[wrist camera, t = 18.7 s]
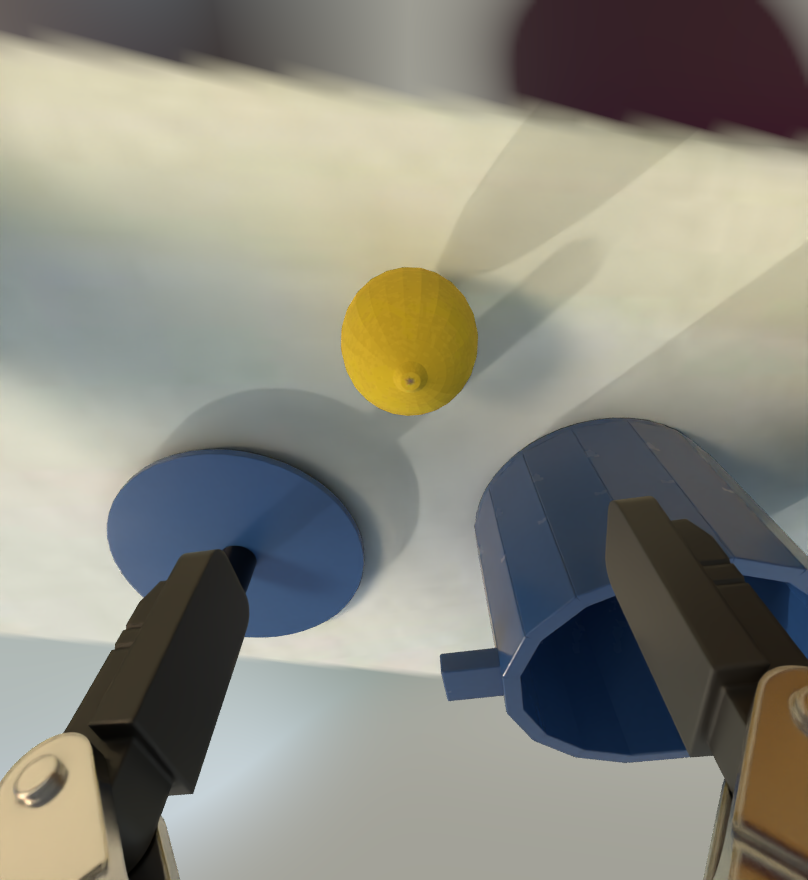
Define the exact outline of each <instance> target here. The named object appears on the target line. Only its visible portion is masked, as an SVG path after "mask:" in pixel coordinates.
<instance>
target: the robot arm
mask: <svg viewBox="0 0 808 880" xmlns="http://www.w3.org/2000/svg"><path fill="white" fill-rule="evenodd" d="M605 562H606V569H607V574H608V578H609V581H610V584H611V586H612V589H613V591H614V593H615V595H616V598H617V600H618V602H619V604H620V606H621V608H622V611H623V613H624V615H625V617H626V619H627V621H628V624H629V626H630V628H631V630H632V632H633V634H634V637H635V639H636V641H637V643H638V645H639V648H640V650H641V652H642V654H643V656H644V658H645V661H646V663H647V665H648V667H649V669H650V671H651V674H652V676H653V678H654V680H655V682H656V684H657V687H658V689H659V691H660V693H661V695H662V697H663V700H664V702H665V704H666V706H667V708H668V711H669V713H670V715H671V717H672V719H673V721H674V724H675V726H676V728H677V730H678V732H679V734H680V737H681V739H682V741H683V743H684V745H685V747H686V750H687V752H688V754H689V756H690V757H700V756H714V758H715V760H716V762H717V764H718V766H719V768H720V770H721V772H722V774H723V776H724V778H725V779H724V782H723V785H722V790H721V795H720V800H719V804H718V810H717V814H716V819H715V824H714V829H713V834H712V839H711V844H710V849H709V853H708V858H707V863H706V868H705V873H704V878H703V880H808V659H807V658H806V657H805V655H804V654H803V653H802V651H801V650H800V649H799V648H798V646H797V645H796V644H795V642H794V641H793V640H792V639H791V637H790V636H789V635H788V633H787V632H786V631H785V630H784V628H783V627H782V626H781V624H780V623H779V622H778V620H777V619H776V618H775V617H774V615H773V614H772V613H771V611H770V610H769V609H768V608H767V606H766V605H765V604H764V602H763V601H762V600H761V599H760V597H759V596H758V595H757V593H756V592H755V591H754V589H753V588H752V587H751V586H750V584H749V583H746V582H745V580H744V577H743V575H742V574H741V573H740V571H739V570H738V569H737V567H736V566H735V565H734V564H733V563H732V564H731V562H730V558H729V557H728V556H727V555H726V553H725V552H724V551H723V549H722V548H721V547H720V546H719V544H718V543H717V542H716V540H715V539H714V538H713V536H711V535H710V534H708V533H707V532H705V531H704V530H702V529H701V528H699V527H698V526H696V525H695V524H693V523H692V522H690V521H689V520H687V519H680V520H672V521H671V520H670V519H669V517H668V516H667V514H666V513H665V512H664V510H663V509H662V507H661V506H660V504H659V503H658V502H657V500H656V499H655V498H654V497H652V496H644V497H636V498H628V499H620V500H612V501H611V502H610V503H609V506H608V519H607V535H606V551H605ZM248 623H249V603H248V599H247V596H246V594H245V592H244V590H243V588H242V586H241V584H240V582H239V580H238V577H237V575H236V573H235V571H234V569H233V567H232V565H231V563H230V561H229V559H228V557H227V555H226V554H225V552H224V551H222V550H221V549H215V550H207V551H199V552H191V553H185V554H183V555H181V556H180V558H179V559H178V561H177V562H176V564H175V566H174V568H173V570H172V572H171V573H170V575H169V577H168V579H167V580H166V581H160V582H159V583H158V584H157V585H156V586H155V587H154V588H153V589H152V590H151V591H150V592H149V593H148V594H147V595H146V596H145V597H144V598H143V599H142V600H141V601H140V602H139V604H138V606H137V607H136V609H135V611H134V612H133V614H132V616H131V618H130V619H129V621H128V623H127V625H126V630H123V631H122V633H121V635H120V637H119V638H118V640H117V642H116V644H115V649H114V650H112V651H111V652H110V654H109V656H108V657H107V659H106V661H105V663H104V664H103V666H102V668H101V669H100V671H99V673H98V675H97V676H96V678H95V680H94V682H93V683H92V685H91V687H90V688H89V690H88V692H87V694H86V696H85V697H84V699H83V701H82V703H81V704H80V706H79V708H78V710H77V711H76V713H75V714H74V716H73V718H72V720H71V721H70V723H69V725H68V726H67V728H66V730H65V731H64V733H62V734H59V735H56V736H53V737H51V738H49V739H47V740H45V741H43V742H41V743H40V744H38V745H37V746H35V747H34V748H32V749H31V750H30V751H28V752H27V753H26V754H25V755H24V756H22V757H21V758H20V759H19V760H18V761H17V762H16V763H15V764H14V766H12V768H11V769H10V770H9V771H8V772H7V774H6V775H5V776H4V778H3V779H2V780H1V782H0V880H180V878H179V873H178V869H177V866H176V862H175V858H174V854H173V850H172V846H171V843H170V838H169V835H168V831H167V827H166V824H165V821H164V819H163V818H162V816H161V814H162V811H163V808H164V806H165V803H166V800H167V797H168V796H170V795H182V794H183V795H184V794H193V792H194V789H195V786H196V783H197V780H198V777H199V774H200V771H201V768H202V764H203V762H204V759H205V756H206V753H207V750H208V747H209V743H210V740H211V737H212V734H213V731H214V728H215V725H216V722H217V719H218V716H219V713H220V710H221V707H222V703H223V701H224V698H225V695H226V691H227V688H228V685H229V682H230V679H231V676H232V673H233V670H234V667H235V664H236V661H237V658H238V655H239V652H240V649H241V646H242V643H243V639H244V636H245V633H246V630H247V627H248Z"/></svg>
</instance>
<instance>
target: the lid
mask: <svg viewBox="0 0 808 880" xmlns="http://www.w3.org/2000/svg"><path fill="white" fill-rule="evenodd" d="M107 539H108V543H109V548H110V551H111V554H112V556H113V559H114V561H115V563H116V565H117V567H118V568H119V570H120V572H121V573H122V575H123V576H124V577H125V578H126V580H127V581H128V582H129V584H130V585H131V586H132V587H133V588H134V589H135V590H136V591H137V592H138V593H139V594H140V595H141V596H143V597H145V596H146V595H147V594H148V593H149V592H150V591H151V590H152V589H153V588H154V587H155V586H156V585H157V584H158V583H159V582H160V581H166V580H167V579H168V577H169V575H170V573H171V572H172V570H173V568H174V566H175V564H176V562H177V561H178V559H179V558H180V556H181V555H183V554H185V553H191V552H199V551H207V550H215V549H221V550H222V551H224V552H225V554H226V555H227V557H228V559H229V561H230V563H231V565H232V567H233V569H234V571H235V573H236V575H237V577H238V580H239V582H240V584H241V586H242V588H243V590H244V592H245V594H246V596H247V599H248V603H249V623H248V627H247V630H246V633H245V636H244V637H277V636H283V635H289V634H294V633H297V632H301V631H305V630H307V629H310V628H313V627H315V626H317V625H319V624H321V623H323V622H325V621H327V620H329V619H330V618H331V617H333V616H334V615H336V614H337V613H338V612H339V611H341V610H342V609H343V608H344V607H345V606H346V605H347V604H348V602H349V601H350V600H351V599H352V597H353V596H354V594H355V592H356V590H357V589H358V587H359V584H360V581H361V578H362V574H363V568H364V547H363V542H362V537H361V535H360V532H359V530H358V527H357V525H356V523H355V521H354V519H353V518H352V516H351V514H350V513H349V511H348V510H347V509H346V507H345V506H344V505H343V504H342V502H341V501H340V500H339V499H338V498H337V497H336V496H335V495H334V494H333V493H332V492H331V491H330V490H329V489H327V488H326V487H325V486H323V485H322V484H321V483H320V482H318V481H317V480H316V479H314V478H312V477H311V476H309V475H307V474H306V473H304V472H302V471H301V470H299V469H297V468H294V467H292V466H290V465H288V464H286V463H284V462H281V461H278V460H275V459H272V458H269V457H266V456H262V455H258V454H254V453H249V452H244V451H236V450H226V449H206V450H195V451H188V452H184V453H179V454H174V455H172V456H169V457H166V458H163V459H160V460H158V461H156V462H154V463H152V464H150V465H148V466H146V467H145V468H143V469H142V470H141V471H139V472H138V473H137V474H135V475H134V476H133V477H132V478H131V479H130V480H129V481H128V482H127V483H126V484H125V485H124V486H123V488H122V489H121V490H120V492H119V493H118V495H117V496H116V498H115V500H114V501H113V504H112V506H111V509H110V512H109V516H108V522H107Z"/></svg>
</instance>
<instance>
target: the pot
mask: <svg viewBox="0 0 808 880" xmlns="http://www.w3.org/2000/svg"><path fill="white" fill-rule="evenodd" d="M644 496H652V497H654V498H655V499H656V500H657V502H658V503H659V504H660V506H661V507H662V509H663V510H664V512H665V513H666V514H667V516H668V517H669V519H670V520H671V521H672V520H680V519H687V520H689V521H690V522H692V523H693V524H695V525H696V526H698V527H699V528H701V529H702V530H704V531H705V532H707V533H708V534H710V535H711V536H713V538H714V539H715V540H716V542H717V543H718V544H719V546H720V547H721V548H722V549H723V551H724V552H725V553H726V555H727V556H728V557H729V558H730V562H731V564H732V563H733V564H734V565H735V566H736V567H737V569H738V570H739V571H740V573H741V574H742V575H743V577H744V580H745V582H746V583H749V584H750V586H751V587H752V588H753V589H754V591H755V592H756V593H757V595H758V596H759V597H760V599H761V600H762V601H763V602H764V604H765V605H766V606H767V608H768V609H769V610H770V611H771V613H772V614H773V615H774V617H775V618H776V619H777V620H778V622H779V623H780V624H781V626H782V627H783V628H784V630H785V631H786V632H787V633H788V635H789V636H790V637H791V639H792V640H793V641H794V642H795V644H796V645H797V646H798V648H799V649H800V650H801V651H802V653H803V654H804V655H805V657H806V658H807V659H808V556H807V555H806V554H805V553H804V552H803V551H802V550H801V549H800V548H799V547H798V546H797V545H796V544H795V543H794V542H793V541H792V539H791V538H790V537H789V536H788V535H787V534H786V533H785V532H784V531H783V530H782V529H781V528H780V527H779V526H778V525H777V524H776V523H775V522H774V521H773V520H772V519H771V518H770V517H769V516H768V515H767V513H766V512H765V511H764V510H763V509H762V508H761V507H760V506H759V505H758V504H757V503H756V502H755V501H754V500H753V499H752V498H751V497H750V496H749V495H748V494H747V493H746V492H745V491H744V490H743V489H742V487H741V486H740V485H739V484H738V483H737V482H736V481H735V480H734V479H733V478H732V477H731V476H730V475H729V474H728V473H727V472H726V471H725V470H724V469H723V468H722V467H721V466H720V465H719V464H718V463H717V461H716V460H715V459H714V458H713V457H712V456H711V455H710V454H708V453H707V452H706V451H704V450H703V449H702V448H700V447H699V446H698V445H697V444H696V443H695V442H693V441H692V440H691V439H690V438H689V437H687V436H685V435H684V434H682V433H681V432H679V431H677V430H675V429H673V428H670V427H668V426H666V425H663V424H659V423H656V422H652V421H648V420H641V419H633V418H608V419H598V420H592V421H587V422H582V423H578V424H574V425H571V426H568V427H565V428H562V429H559V430H557V431H555V432H552V433H550V434H548V435H546V436H544V437H542V438H540V439H538V440H536V441H535V442H533V443H531V444H529V445H528V446H527V447H525V448H524V449H522V450H521V451H520V452H518V453H517V454H516V455H514V456H513V457H512V458H511V459H510V460H509V461H508V462H507V463H506V464H505V465H503V467H502V468H501V469H500V470H499V471H498V472H497V474H496V475H495V476H494V477H493V479H492V480H491V482H490V483H489V485H488V486H487V488H486V490H485V492H484V494H483V496H482V498H481V500H480V503H479V506H478V510H477V513H476V521H475V525H474V526H475V534H476V541H477V548H478V555H479V561H480V567H481V572H482V578H483V584H484V589H485V595H486V600H487V606H488V612H489V617H490V623H491V628H492V634H493V639H494V645H495V648H491V649H482V650H473V651H464V652H455V653H446V654H441V655H440V664H441V674H442V678H443V683H444V687H445V691H446V695H447V699H448V701H454V700H465V699H474V698H484V697H494V696H504V700H505V706H506V712H507V714H508V715H509V716H510V717H511V718H512V719H513V720H514V721H515V722H516V723H517V724H518V725H519V726H520V727H521V728H522V729H523V730H524V731H525V732H526V733H527V734H528V736H529V737H530V738H531V739H532V740H534V741H536V742H539V743H541V744H543V745H546V746H548V747H551V748H553V749H556V750H558V751H561V752H563V753H566V754H568V755H571V756H573V757H578V758H587V759H596V760H606V761H613V762H622V763H627V762H629V763H630V762H642V761H653V760H664V759H674V758H675V759H676V758H684V757H690V756H689V754H688V752H687V750H686V747H685V745H684V743H683V741H682V739H681V737H680V734H679V732H678V730H677V728H676V726H675V724H674V721H673V719H672V717H671V715H670V713H669V711H668V708H667V706H666V704H665V702H664V700H663V697H662V695H661V693H660V691H659V689H658V687H657V684H656V682H655V680H654V678H653V676H652V674H651V671H650V669H649V667H648V665H647V663H646V661H645V658H644V656H643V654H642V652H641V650H640V648H639V645H638V643H637V641H636V639H635V637H634V634H633V632H632V630H631V628H630V626H629V624H628V621H627V619H626V617H625V615H624V613H623V611H622V608H621V606H620V604H619V602H618V600H617V598H616V595H615V593H614V591H613V589H612V586H611V584H610V581H609V578H608V574H607V569H606V562H605V551H606V535H607V519H608V506H609V503H610V502H611V501H612V500H620V499H628V498H636V497H644Z"/></svg>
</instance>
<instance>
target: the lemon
mask: <svg viewBox="0 0 808 880" xmlns="http://www.w3.org/2000/svg"><path fill="white" fill-rule="evenodd" d="M477 345H478V332H477V328H476V323H475V318H474V314H473V312H472V310H471V308H470V306H469V304H468V302H467V300H466V298H465V297H464V295H463V294H462V293H461V292H460V291H459V290H458V289H457V288H456V287H455V286H454V285H453V284H452V282H450V281H448V280H447V279H445V278H444V277H442V276H440V275H439V274H437V273H435V272H432V271H429V270H425V269H422V268H409V267H402V268H398V269H394V270H389V271H386V272H384V273H382V274H380V275H379V276H377V277H375V278H373V279H371V280H370V281H369V282H368V283H367V284H366V285H365V286H364V287H363V288H361V289H360V290H359V291H358V293H357V294H356V296H355V297H354V299H353V300H352V302H351V304H350V305H349V307H348V309H347V312H346V315H345V318H344V322H343V325H342V332H341V351H342V355H343V359H344V363H345V368H346V370H347V373H348V375H349V376H350V378H351V380H352V382H353V384H354V386H355V387H356V389H357V390H358V391H359V392H360V393H361V394H362V395H363V396H364V397H365V398H366V399H367V400H368V401H369V402H371V403H372V404H374V405H375V406H377V407H378V408H380V409H382V410H385V411H387V412H390V413H393V414H399V415H406V416H410V415H422V414H425V413H429V412H432V411H435V410H437V409H439V408H441V407H442V406H444V405H446V404H447V403H449V402H450V401H451V400H452V399H453V398H454V397H455V396H456V395H457V394H458V393H459V392H460V391H461V390H462V389H463V387H464V385H465V384H466V382H467V381H468V379H469V378H470V376H471V373H472V370H473V367H474V363H475V360H476V357H477Z"/></svg>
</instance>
